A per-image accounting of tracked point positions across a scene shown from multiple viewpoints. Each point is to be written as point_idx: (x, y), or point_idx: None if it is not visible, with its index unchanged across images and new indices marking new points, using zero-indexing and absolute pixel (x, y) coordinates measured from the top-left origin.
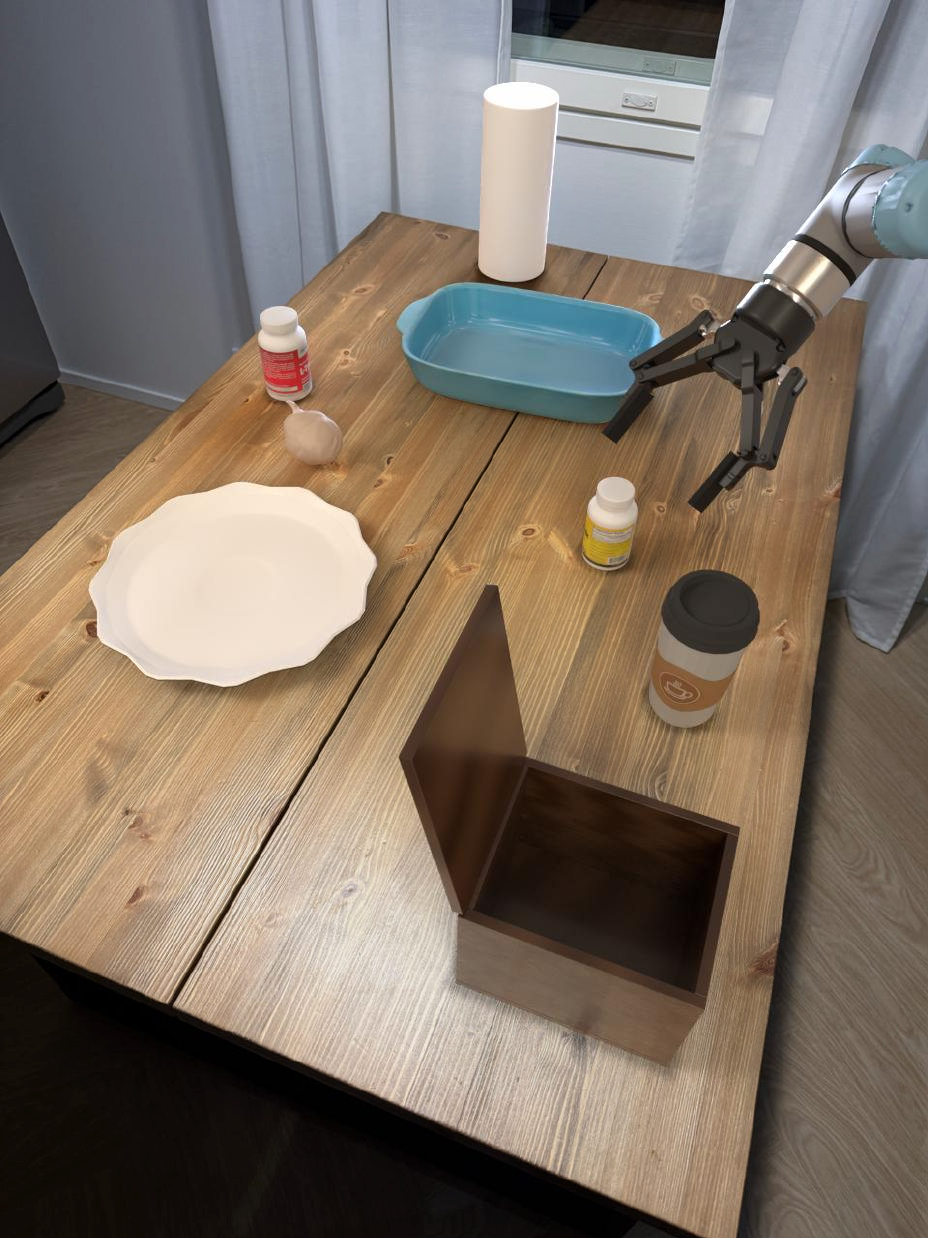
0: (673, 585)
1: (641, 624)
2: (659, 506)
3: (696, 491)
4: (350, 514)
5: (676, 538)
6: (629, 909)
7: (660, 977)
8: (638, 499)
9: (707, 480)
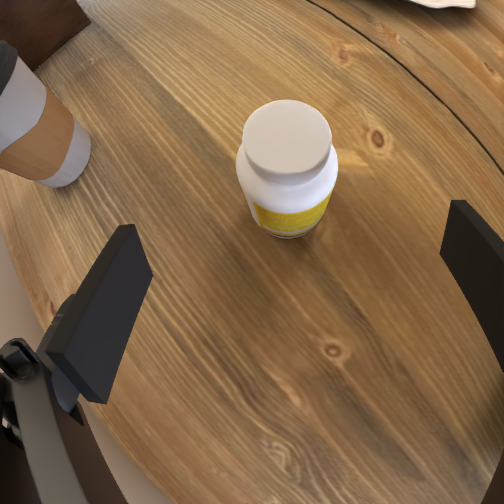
0: (5, 54)
1: (156, 176)
2: (339, 352)
3: (122, 244)
4: (434, 5)
5: (262, 329)
6: None
7: None
8: (370, 331)
9: (103, 270)
